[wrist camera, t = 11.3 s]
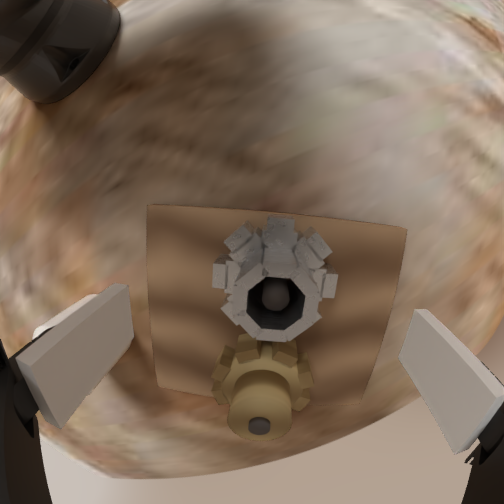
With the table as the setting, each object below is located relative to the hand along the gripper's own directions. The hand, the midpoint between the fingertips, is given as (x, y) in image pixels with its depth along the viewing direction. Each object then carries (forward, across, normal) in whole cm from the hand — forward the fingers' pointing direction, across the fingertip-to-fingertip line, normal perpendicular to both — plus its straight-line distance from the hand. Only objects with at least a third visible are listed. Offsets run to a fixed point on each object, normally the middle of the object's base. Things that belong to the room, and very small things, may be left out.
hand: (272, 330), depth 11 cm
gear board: (+12, 0, -6) cm, 14 cm away
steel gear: (+11, 0, -1) cm, 11 cm away
